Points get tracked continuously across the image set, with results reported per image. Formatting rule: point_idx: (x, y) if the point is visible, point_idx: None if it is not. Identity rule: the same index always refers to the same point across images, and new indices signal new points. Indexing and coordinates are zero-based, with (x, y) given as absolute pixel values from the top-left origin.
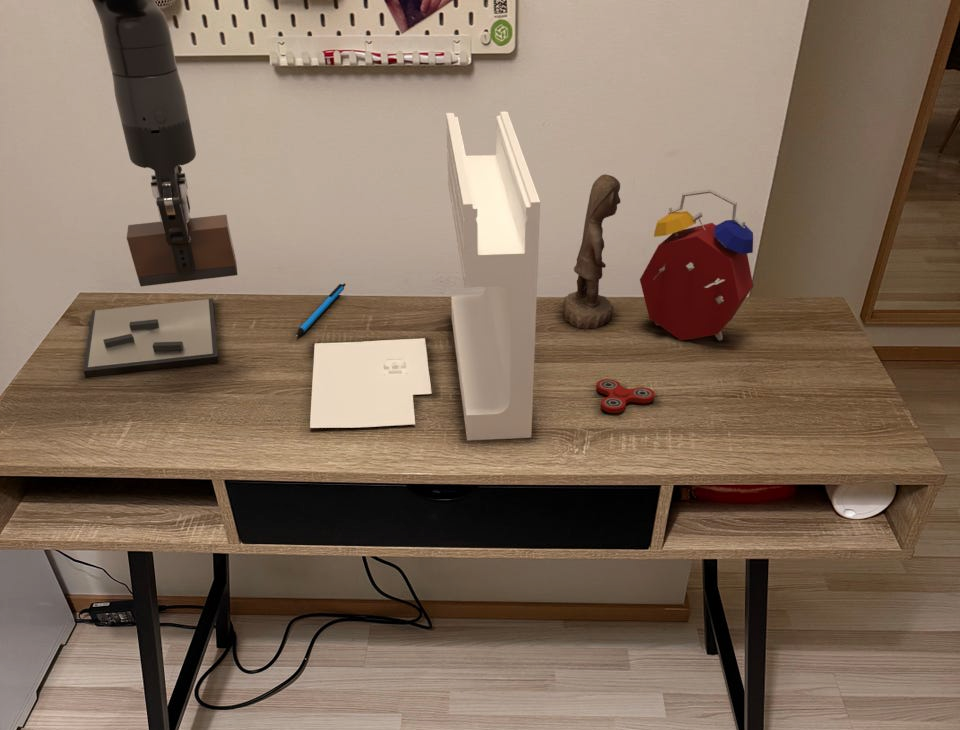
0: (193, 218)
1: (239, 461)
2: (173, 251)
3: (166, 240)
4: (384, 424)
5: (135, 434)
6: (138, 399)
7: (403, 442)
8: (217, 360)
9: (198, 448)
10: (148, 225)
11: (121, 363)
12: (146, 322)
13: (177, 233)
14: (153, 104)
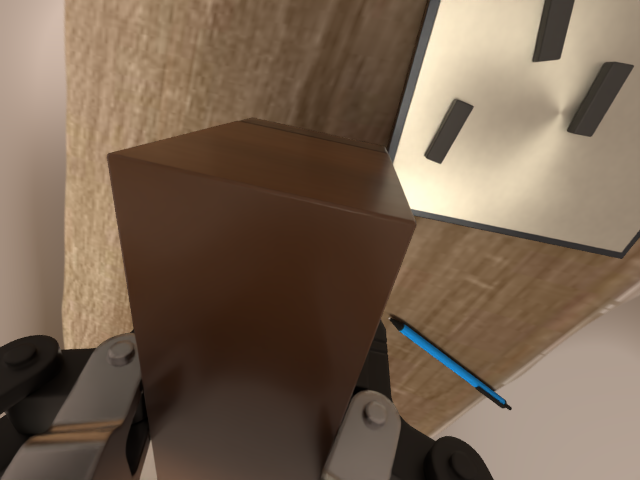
0: None
1: (77, 156)
2: None
3: (10, 351)
4: None
5: (166, 3)
6: (296, 30)
7: (112, 316)
8: None
9: (112, 108)
10: (315, 337)
11: (438, 10)
12: (593, 108)
13: (14, 419)
14: None
